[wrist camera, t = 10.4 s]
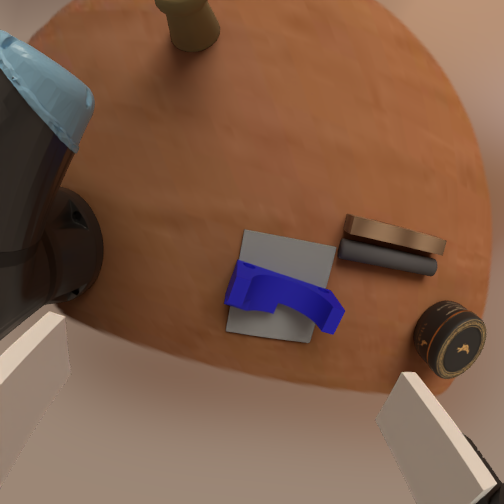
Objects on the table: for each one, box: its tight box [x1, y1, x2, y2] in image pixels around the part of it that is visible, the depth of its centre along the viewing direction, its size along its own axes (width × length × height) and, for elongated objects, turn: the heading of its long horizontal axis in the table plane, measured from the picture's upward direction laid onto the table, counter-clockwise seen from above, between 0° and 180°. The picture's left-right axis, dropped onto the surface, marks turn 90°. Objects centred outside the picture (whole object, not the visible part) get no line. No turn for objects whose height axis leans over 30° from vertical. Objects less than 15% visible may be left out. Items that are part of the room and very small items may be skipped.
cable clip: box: [224, 260, 345, 334], centre depth 34 cm, size 12×4×6 cm, turn 70°
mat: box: [226, 230, 336, 343], centre depth 37 cm, size 11×13×1 cm
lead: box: [338, 238, 437, 276], centre depth 35 cm, size 14×2×2 cm, turn 79°
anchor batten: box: [343, 214, 446, 256], centre depth 34 cm, size 14×2×2 cm, turn 79°
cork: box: [155, 0, 220, 52], centre depth 23 cm, size 6×6×11 cm
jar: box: [414, 301, 486, 379], centre depth 36 cm, size 10×10×8 cm
